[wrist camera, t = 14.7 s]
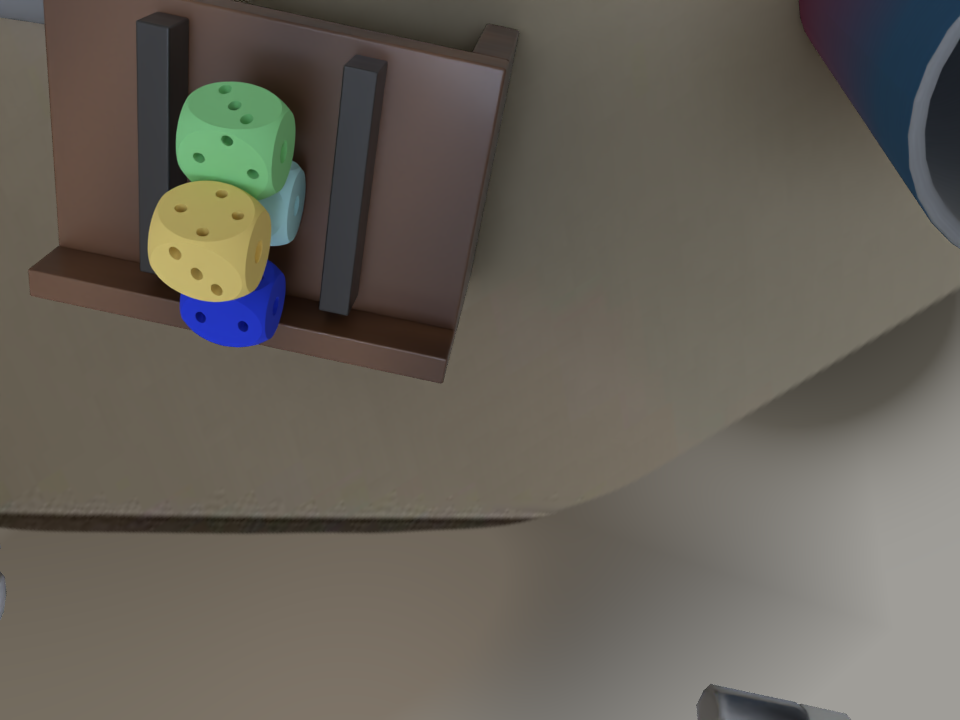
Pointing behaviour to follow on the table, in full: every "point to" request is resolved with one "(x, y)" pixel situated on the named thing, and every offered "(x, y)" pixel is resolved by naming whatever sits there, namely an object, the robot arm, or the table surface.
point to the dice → (229, 212)
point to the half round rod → (23, 10)
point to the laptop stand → (318, 151)
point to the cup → (901, 87)
